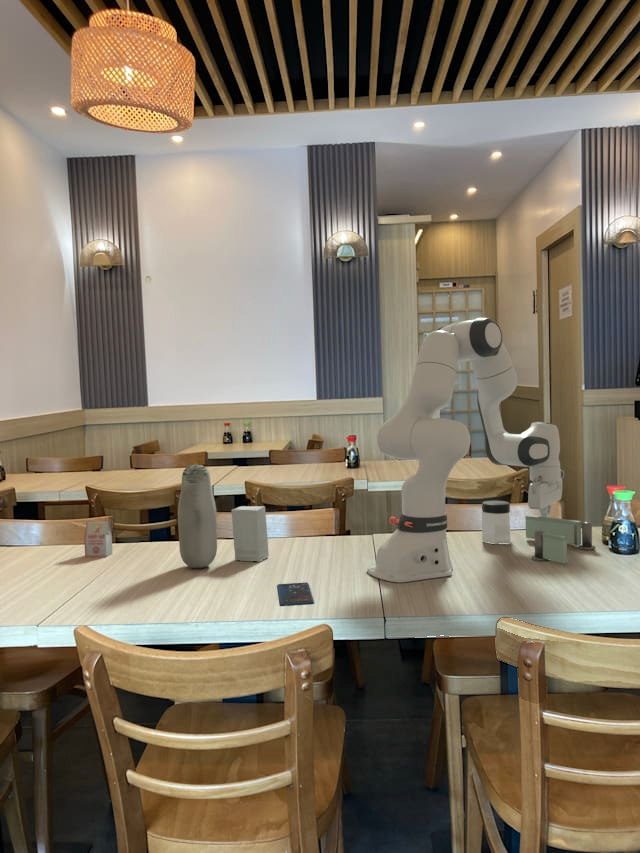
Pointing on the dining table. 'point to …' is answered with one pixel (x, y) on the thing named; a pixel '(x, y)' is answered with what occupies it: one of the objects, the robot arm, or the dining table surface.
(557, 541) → the fence panel
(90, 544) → the white printed carton
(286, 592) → the smartphone
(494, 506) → the jar
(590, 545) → the hinge post
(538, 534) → the post
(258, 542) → the skincare box
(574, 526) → the gate
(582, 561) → the dining table surface
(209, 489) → the grey tall rounded cylinder
